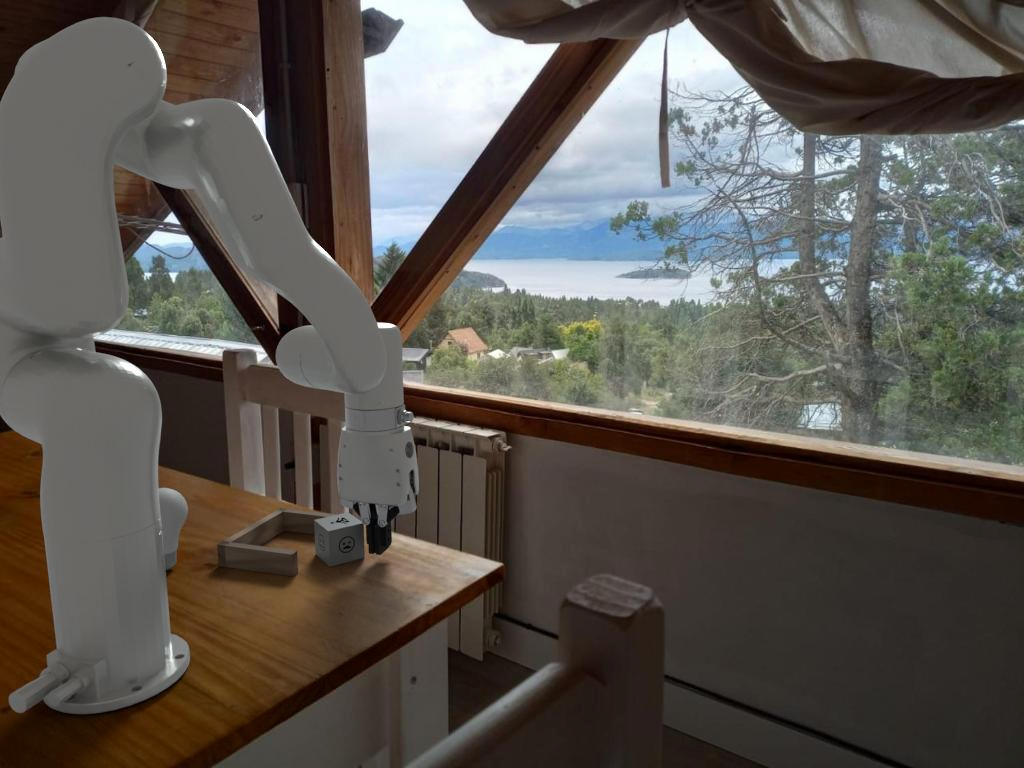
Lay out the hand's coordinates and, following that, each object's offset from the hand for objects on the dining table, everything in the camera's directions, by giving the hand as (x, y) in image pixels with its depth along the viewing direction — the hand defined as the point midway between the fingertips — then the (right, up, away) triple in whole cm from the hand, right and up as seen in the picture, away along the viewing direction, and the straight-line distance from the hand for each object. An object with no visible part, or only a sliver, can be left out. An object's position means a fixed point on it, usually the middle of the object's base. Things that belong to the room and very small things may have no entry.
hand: (379, 550), depth 94 cm
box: (-13, -1, +3) cm, 14 cm away
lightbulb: (-27, -2, -3) cm, 28 cm away
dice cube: (-6, -1, +2) cm, 6 cm away
